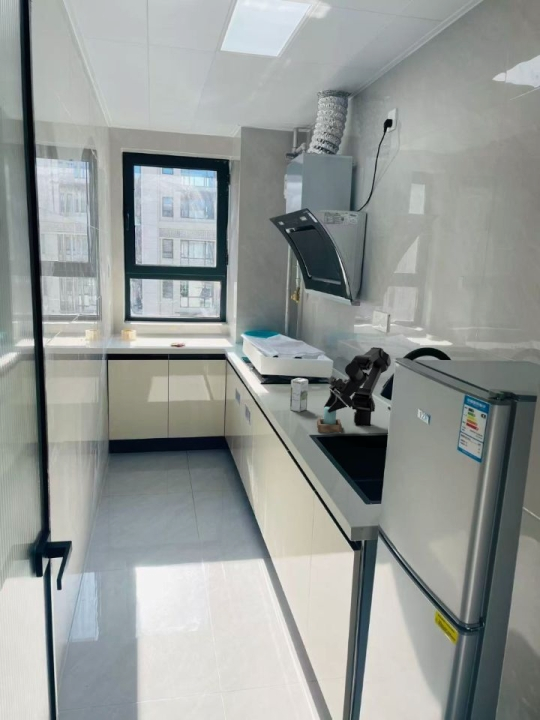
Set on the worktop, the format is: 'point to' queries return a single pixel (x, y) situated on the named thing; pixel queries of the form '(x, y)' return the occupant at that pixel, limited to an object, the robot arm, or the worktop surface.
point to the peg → (329, 417)
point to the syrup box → (299, 394)
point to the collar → (329, 426)
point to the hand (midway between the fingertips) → (326, 409)
